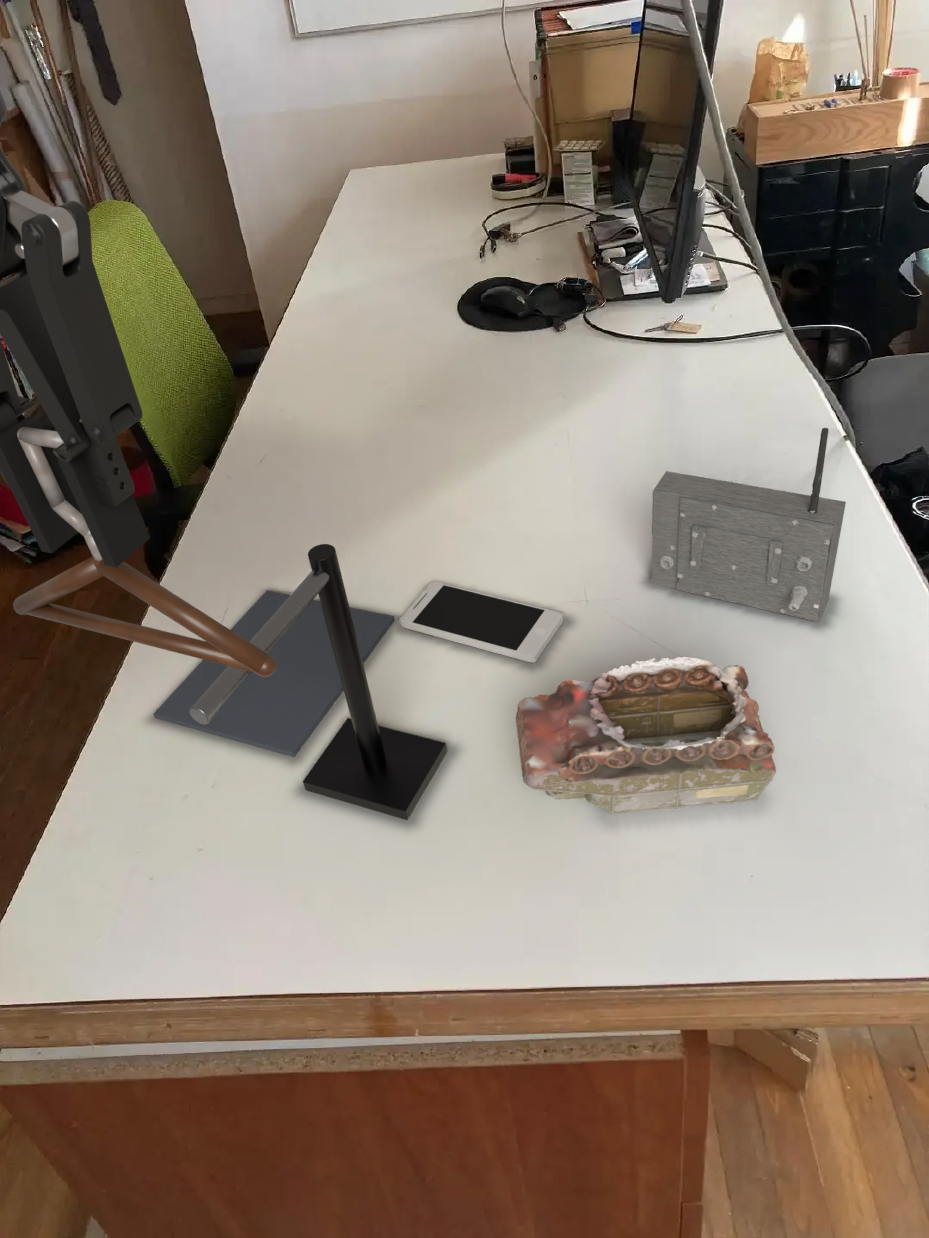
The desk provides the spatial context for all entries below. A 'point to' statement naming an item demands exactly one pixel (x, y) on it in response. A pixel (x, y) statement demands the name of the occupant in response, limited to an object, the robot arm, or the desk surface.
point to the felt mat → (277, 680)
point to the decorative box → (648, 738)
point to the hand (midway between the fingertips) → (95, 543)
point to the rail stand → (361, 750)
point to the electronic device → (747, 541)
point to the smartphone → (483, 621)
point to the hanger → (126, 588)
